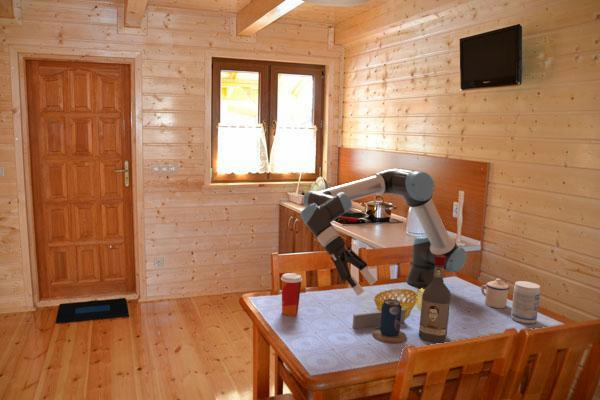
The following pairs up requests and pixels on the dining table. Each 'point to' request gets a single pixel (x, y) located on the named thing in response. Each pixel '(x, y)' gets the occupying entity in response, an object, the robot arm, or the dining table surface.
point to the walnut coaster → (397, 339)
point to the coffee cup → (290, 293)
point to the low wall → (371, 319)
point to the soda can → (390, 318)
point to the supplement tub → (525, 302)
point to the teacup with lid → (496, 293)
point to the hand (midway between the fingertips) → (367, 288)
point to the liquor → (435, 306)
